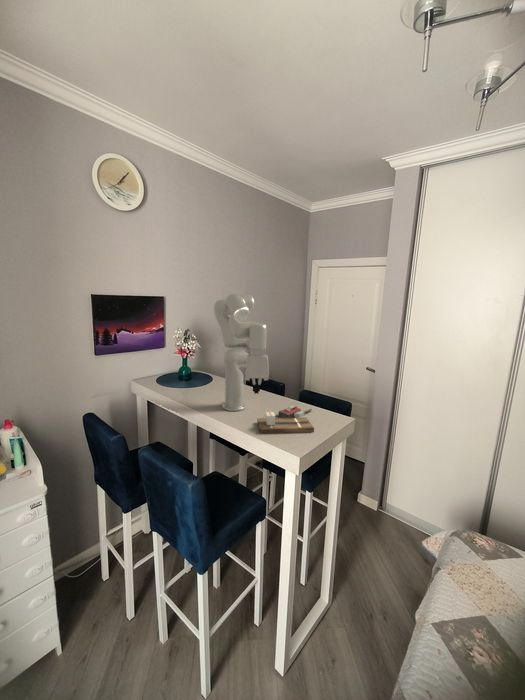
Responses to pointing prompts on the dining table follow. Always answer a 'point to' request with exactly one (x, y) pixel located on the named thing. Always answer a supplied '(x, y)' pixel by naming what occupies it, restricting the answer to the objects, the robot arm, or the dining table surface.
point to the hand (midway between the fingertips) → (256, 392)
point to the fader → (270, 418)
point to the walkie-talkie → (292, 412)
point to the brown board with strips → (285, 425)
